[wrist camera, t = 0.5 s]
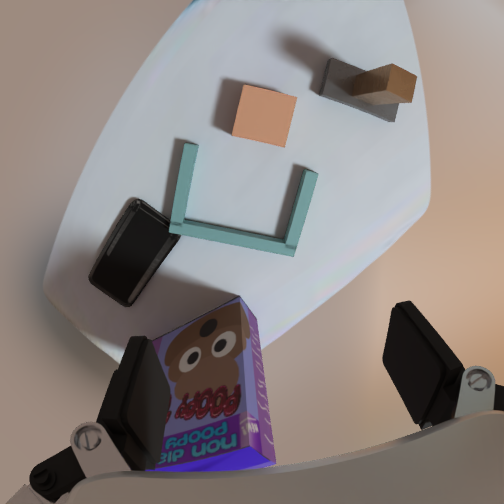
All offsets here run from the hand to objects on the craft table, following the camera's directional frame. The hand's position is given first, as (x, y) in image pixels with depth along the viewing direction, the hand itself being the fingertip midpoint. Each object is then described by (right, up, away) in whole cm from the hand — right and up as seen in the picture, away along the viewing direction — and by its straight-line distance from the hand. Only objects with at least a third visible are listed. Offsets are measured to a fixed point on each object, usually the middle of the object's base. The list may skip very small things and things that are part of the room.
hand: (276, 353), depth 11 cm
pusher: (+13, +24, +22) cm, 35 cm away
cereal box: (-9, -8, +34) cm, 36 cm away
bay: (-2, +11, +26) cm, 28 cm away
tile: (0, +20, +23) cm, 30 cm away
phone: (-17, +3, +29) cm, 34 cm away
